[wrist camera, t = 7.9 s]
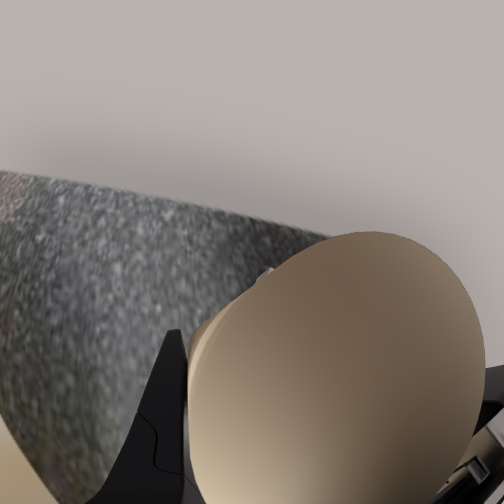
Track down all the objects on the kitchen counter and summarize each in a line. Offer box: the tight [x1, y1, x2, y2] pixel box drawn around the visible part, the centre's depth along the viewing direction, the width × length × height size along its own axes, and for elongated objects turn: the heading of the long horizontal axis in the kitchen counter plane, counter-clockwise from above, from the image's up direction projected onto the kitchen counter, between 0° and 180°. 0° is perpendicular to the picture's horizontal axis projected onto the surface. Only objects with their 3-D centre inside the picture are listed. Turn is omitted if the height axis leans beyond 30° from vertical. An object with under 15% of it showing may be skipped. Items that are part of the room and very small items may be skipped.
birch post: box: [188, 232, 485, 504], centre depth 9 cm, size 4×4×14 cm
